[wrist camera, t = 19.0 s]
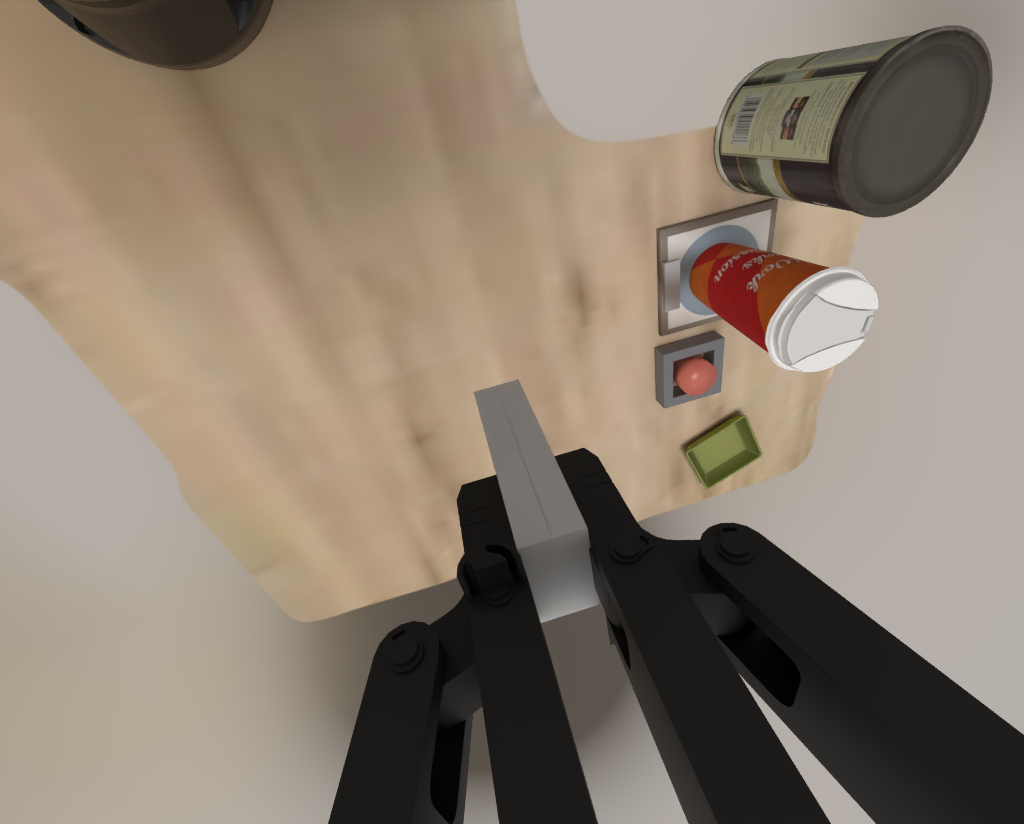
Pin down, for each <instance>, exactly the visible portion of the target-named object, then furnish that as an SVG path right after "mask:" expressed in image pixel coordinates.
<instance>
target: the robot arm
mask: <svg viewBox="0 0 1024 824" xmlns="http://www.w3.org/2000/svg"><path fill="white" fill-rule="evenodd" d="M38 1H39V2H40V3H41V4H42V5H43V6H44V7H46V8H47V9H48V10H49V11H50V12H51V13H53V14H54V15H55V16H56V17H57V18H59V19H60V20H61V21H63V22H64V23H65V24H67V25H68V26H69V27H71V28H72V29H74V30H75V31H77V32H78V33H80V34H81V35H83V36H85V37H86V38H88V39H90V40H91V41H93V42H95V43H96V44H98V45H100V46H102V47H104V48H106V49H108V50H110V51H112V52H114V53H117V54H119V55H122V56H124V57H127V58H129V59H132V60H136V61H139V62H143V63H146V64H150V65H154V66H158V67H163V68H169V69H177V70H197V69H204V68H209V67H213V66H216V65H219V64H222V63H224V62H226V61H228V60H230V59H232V58H233V57H235V56H237V55H238V54H239V53H241V52H242V51H243V50H244V49H245V48H246V47H247V46H248V45H249V44H250V43H251V42H252V41H253V40H254V39H255V37H256V36H257V35H258V33H259V32H260V30H261V28H262V27H263V25H264V23H265V21H266V19H267V16H268V14H269V11H270V8H271V5H272V2H273V0H38ZM474 395H475V398H476V402H477V406H478V409H479V413H480V417H481V420H482V424H483V428H484V431H485V435H486V438H487V442H488V446H489V449H490V453H491V457H492V460H493V464H494V467H495V471H496V475H494V476H491V477H487V478H484V479H480V480H477V481H474V482H470V483H467V484H464V485H462V486H461V489H460V492H459V495H458V498H457V506H458V513H459V517H460V518H459V519H460V526H461V533H462V539H463V546H464V553H465V554H464V555H463V557H462V558H461V560H460V562H459V564H458V569H457V578H458V580H459V583H460V585H461V587H462V589H463V592H464V595H463V597H462V599H461V600H460V601H459V603H458V604H457V605H456V606H455V607H454V608H453V609H452V610H451V611H449V612H448V613H447V614H445V615H444V616H442V617H441V618H439V619H438V620H436V621H435V622H433V623H432V624H430V625H428V624H426V623H424V622H416V621H412V622H409V623H405V624H402V625H400V626H398V627H397V628H395V629H394V630H392V631H391V632H389V633H388V634H387V636H386V637H385V638H384V639H383V640H382V642H381V643H380V644H379V646H378V649H377V651H376V653H375V655H374V658H373V662H372V665H371V669H370V673H369V677H368V680H367V684H366V687H365V691H364V695H363V698H362V702H361V706H360V709H359V713H358V717H357V720H356V724H355V728H354V731H353V735H352V738H351V743H350V746H349V750H348V753H347V757H346V760H345V764H344V768H343V772H342V775H341V779H340V782H339V786H338V790H337V793H336V797H335V800H334V804H333V808H332V811H331V815H330V819H329V822H328V824H463V821H464V810H465V798H466V787H467V776H468V765H469V753H470V742H471V731H472V730H471V729H472V719H473V713H474V712H475V711H477V710H478V709H479V708H481V707H482V706H483V713H484V720H485V727H486V734H487V741H488V748H489V755H490V762H491V769H492V775H493V782H494V789H495V797H496V804H497V811H498V818H499V824H598V822H597V818H596V815H595V811H594V808H593V804H592V801H591V797H590V794H589V790H588V787H587V783H586V780H585V776H584V773H583V769H582V765H581V762H580V759H579V755H578V752H577V748H576V744H575V741H574V737H573V734H572V730H571V727H570V723H569V720H568V716H567V713H566V709H565V706H564V703H563V699H562V695H561V692H560V689H559V685H558V681H557V678H556V674H555V671H554V668H553V664H552V660H551V657H550V653H549V650H548V647H547V643H546V640H545V636H544V633H543V629H542V626H541V623H542V622H545V621H549V620H551V619H554V618H558V617H561V616H564V615H567V614H571V613H574V612H577V611H580V610H583V609H586V608H589V607H592V606H596V605H599V599H600V601H601V604H602V606H603V608H604V610H605V614H606V621H607V627H608V634H609V640H610V645H613V644H615V646H616V648H617V651H618V653H619V655H620V658H621V660H622V663H623V665H624V667H625V670H626V673H627V675H628V677H629V680H630V682H631V685H632V687H633V690H634V692H635V694H636V697H637V699H638V702H639V704H640V707H641V709H642V711H643V714H644V716H645V719H646V721H647V723H648V726H649V729H650V731H651V733H652V736H653V738H654V740H655V743H656V746H657V748H658V750H659V753H660V755H661V758H662V760H663V763H664V765H665V767H666V770H667V772H668V775H669V777H670V779H671V782H672V784H673V787H674V789H675V792H676V794H677V797H678V799H679V802H680V804H681V806H682V809H683V811H684V814H685V816H686V819H687V821H688V823H689V824H831V823H830V821H829V820H828V818H827V817H826V815H825V813H824V812H823V810H822V808H821V807H820V805H819V804H818V802H817V800H816V799H815V797H814V796H813V794H812V792H811V791H810V789H809V787H808V786H807V784H806V782H805V781H804V779H803V778H802V776H801V775H800V773H799V771H798V769H797V768H796V766H795V765H794V763H793V762H792V760H791V758H790V757H789V755H788V753H787V752H786V750H785V748H784V747H783V745H782V743H781V742H780V740H779V738H778V737H777V735H776V734H775V732H774V730H773V729H772V727H771V725H770V724H769V722H768V721H767V719H766V717H765V716H764V714H763V713H762V711H761V709H760V708H759V706H758V705H757V703H756V701H755V700H754V698H753V696H752V695H751V693H750V691H749V690H748V688H747V686H746V685H745V683H744V682H743V680H742V678H741V677H740V675H741V676H742V677H743V678H744V679H745V681H746V682H747V683H748V684H749V685H750V686H751V687H752V688H753V689H754V690H755V692H756V693H757V694H758V695H759V696H760V697H761V698H762V699H763V700H764V701H765V702H766V704H767V705H768V706H769V707H770V708H771V709H772V710H773V711H774V712H775V713H776V714H777V715H778V717H779V718H780V719H781V720H782V721H783V722H784V723H785V724H786V725H787V727H788V728H789V729H790V730H791V731H792V732H793V733H794V734H795V735H796V736H797V737H798V738H799V740H800V741H801V742H802V743H803V744H804V745H805V746H806V747H807V748H808V750H809V751H810V752H811V753H812V754H813V755H814V756H815V757H816V758H817V759H818V760H819V761H820V763H821V764H822V765H823V766H824V767H825V768H826V769H827V770H828V771H829V773H830V774H831V775H832V776H833V777H834V778H835V779H836V780H837V781H838V782H839V784H840V785H841V786H842V787H843V788H844V789H845V790H846V791H847V792H848V793H849V794H850V796H851V797H852V798H853V799H854V800H855V801H856V802H857V803H858V804H859V805H860V806H861V808H862V809H863V810H864V811H865V812H866V813H867V814H868V815H869V816H870V817H871V819H872V820H873V821H874V822H875V823H876V824H1024V735H1023V734H1022V733H1020V732H1019V731H1018V730H1017V729H1015V728H1014V727H1013V726H1011V725H1010V724H1009V723H1007V722H1006V721H1005V720H1003V719H1002V718H1001V717H999V716H998V715H997V714H996V713H994V712H993V711H992V710H990V709H989V708H988V707H987V706H985V705H984V704H982V703H981V702H980V701H979V700H977V699H976V698H975V697H973V696H972V695H971V694H969V693H968V692H967V691H966V690H964V689H963V688H962V687H960V686H959V685H958V684H956V683H955V682H954V681H952V680H951V679H950V678H948V677H947V676H946V675H945V674H943V673H942V672H941V671H939V670H938V669H937V668H935V667H934V666H933V665H931V664H930V663H929V662H927V661H926V660H925V659H924V658H922V657H921V656H920V655H918V654H917V653H916V652H914V651H913V650H912V649H911V648H909V647H908V646H907V645H905V644H904V643H903V642H901V641H900V640H899V639H897V638H896V637H895V636H893V635H892V634H891V633H890V632H888V631H887V630H886V629H884V628H883V627H882V626H880V625H879V624H878V623H876V622H875V621H874V620H872V619H871V618H870V617H868V616H867V615H866V614H865V613H863V612H862V611H861V610H859V609H858V608H857V607H855V606H854V605H853V604H852V603H850V602H849V601H848V600H846V599H845V598H844V597H842V596H841V595H840V594H838V593H837V592H836V591H834V590H833V589H832V588H831V587H829V586H828V585H827V584H825V583H824V582H823V581H821V580H820V579H819V578H818V577H816V576H815V575H814V574H812V573H811V572H810V571H808V570H807V569H806V568H804V567H803V566H802V565H801V564H799V563H798V562H797V561H795V560H794V559H793V558H791V557H790V556H789V555H787V554H786V553H785V552H783V551H782V550H781V549H780V548H778V547H777V546H775V545H774V544H773V543H771V542H770V541H769V540H767V539H766V538H765V537H764V536H762V535H761V534H760V533H758V532H757V531H755V530H753V529H751V528H749V527H748V526H744V525H740V524H736V523H720V524H717V525H714V526H711V527H709V528H708V529H707V530H706V531H705V532H704V533H703V534H702V536H701V539H700V540H666V539H662V538H658V537H655V536H654V535H652V534H650V533H649V532H647V531H645V530H644V529H642V528H641V527H640V525H639V524H638V523H637V522H636V520H635V518H634V517H633V515H632V513H631V512H630V510H629V508H628V507H627V505H626V503H625V502H624V500H623V498H622V497H621V495H620V493H619V492H618V490H617V488H616V487H615V485H614V483H612V480H611V478H610V477H609V475H608V473H607V472H606V470H605V468H604V466H603V465H602V463H601V461H600V460H599V458H598V457H597V456H596V455H594V454H593V453H591V452H590V451H588V450H587V449H585V448H581V449H578V450H574V451H571V452H568V453H564V454H561V455H558V456H554V455H553V453H552V451H551V449H550V446H549V444H548V442H547V440H546V438H545V436H544V434H543V431H542V429H541V427H540V425H539V423H538V421H537V419H536V416H535V414H534V412H533V410H532V408H531V406H530V404H529V401H528V399H527V397H526V395H525V393H524V391H523V388H522V386H521V384H520V382H519V380H515V381H511V382H508V383H504V384H501V385H497V386H494V387H490V388H486V389H483V390H479V391H476V392H474ZM598 596H599V599H598ZM739 674H740V675H739Z"/></svg>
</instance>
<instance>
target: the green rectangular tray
mask: <svg viewBox="0 0 1024 824" xmlns="http://www.w3.org/2000/svg"><path fill="white" fill-rule="evenodd" d="M686 456H687V458H688V460H689V461H690V463H691V465H692V466H693V468H694V470H695V472H696V473H697V475H698V477H699V479H700V480H701V482H702V484H703V486H704V487H705V489H709V488H711V487H713V486H715V485H716V484H718V483H719V482H721V481H723V480H724V479H726V478H727V477H729V476H731V475H732V474H734V473H735V472H737V471H739V470H740V469H742V468H744V467H745V466H747V465H749V464H750V463H752V462H753V461H755V460H757V459H758V458H760V457H761V456H762V451H761V449H760V447H759V444H758V442H757V440H756V437H755V435H754V433H753V430H752V428H751V425H750V423H749V421H748V418H747V416H745V415H744V416H736V417H733V418H731V419H729V420H727V421H726V422H724V423H723V424H721V425H720V426H718V427H716V428H715V429H713V430H712V431H710V432H709V433H707V434H705V435H704V436H702V437H701V438H699V439H698V440H696V441H694V442H693V443H691V444H690V445H689V446H688V447H687V449H686Z"/></svg>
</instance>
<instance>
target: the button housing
mask: <svg viewBox="0 0 1024 824" xmlns="http://www.w3.org/2000/svg"><path fill="white" fill-rule="evenodd" d="M724 339H725V338H724V337H723V336H721V335H720V334H718V333H717V332H715V331H712V332H708V333H705V334H701V335H698V336H694V337H690V338H687V339H683V340H680V341H676V342H673V343H669V344H666V345H662V346H659V347H655V376H656V400H657V401H658V402H659V404H660V405H661V406H662V407H663V408H668V407H671V406H675V405H678V404H681V403H685V402H688V401H692V400H695V399H699V398H702V397H705V396H709V395H712V394H716V393H719V392H721V382H722V368H723V354H724ZM701 353H704V359H705V360H707V361H708V362H709V363H710V364H712V365H713V366H714V367H715V368H716V371H717V378H716V381H715V383H714V384H713V386H712V387H711V388H710V389H709V390H708V391H707V392H705V393H703V394H701V395H697V396H691V395H688V394H687V393H685V392H684V391H683V390H682V389H681V388H680V387H679V386H676V387H673V361H676V360H680V359H683V358H687V357H690V356H694V355H697V354H701Z"/></svg>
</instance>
